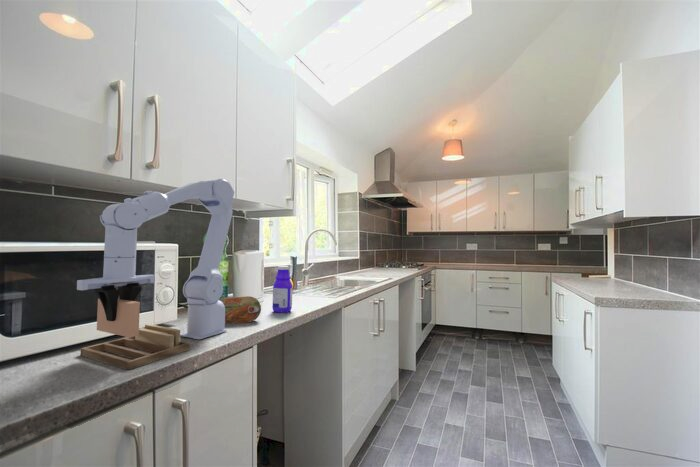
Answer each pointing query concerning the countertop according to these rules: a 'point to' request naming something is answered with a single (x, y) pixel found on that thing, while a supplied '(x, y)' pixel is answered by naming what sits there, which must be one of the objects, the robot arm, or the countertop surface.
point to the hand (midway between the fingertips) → (117, 319)
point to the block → (120, 319)
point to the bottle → (282, 291)
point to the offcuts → (159, 335)
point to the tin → (241, 309)
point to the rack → (131, 352)
